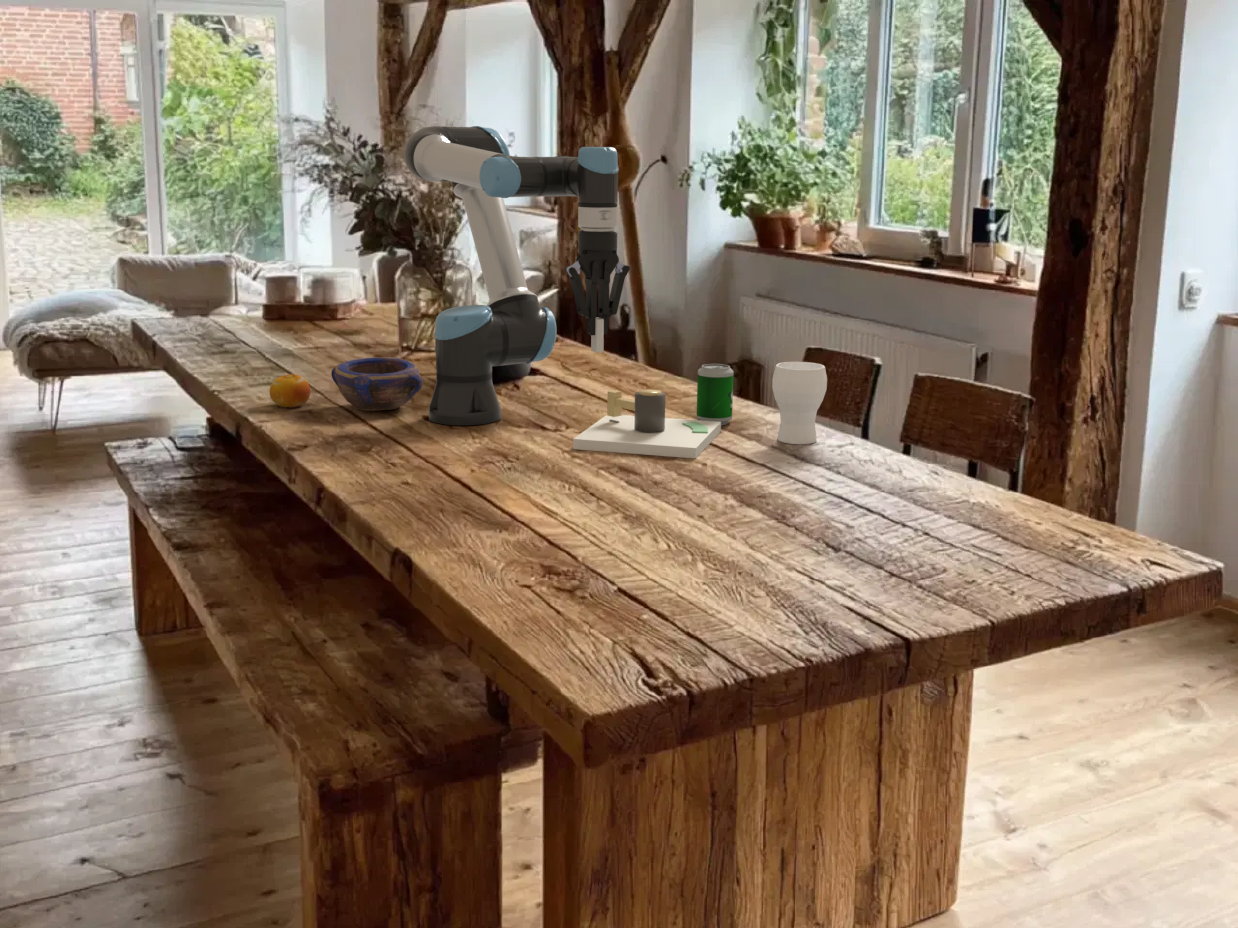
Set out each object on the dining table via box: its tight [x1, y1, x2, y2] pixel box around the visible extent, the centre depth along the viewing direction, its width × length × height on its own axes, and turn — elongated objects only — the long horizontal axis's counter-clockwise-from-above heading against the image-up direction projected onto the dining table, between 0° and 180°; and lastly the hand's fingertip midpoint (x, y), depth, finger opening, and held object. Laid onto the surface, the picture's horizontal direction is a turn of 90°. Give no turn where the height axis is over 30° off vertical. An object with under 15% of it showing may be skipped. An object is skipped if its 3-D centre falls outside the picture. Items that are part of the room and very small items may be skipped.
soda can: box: [696, 363, 735, 426], centre depth 269 cm, size 8×8×12 cm
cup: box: [771, 361, 828, 445], centre depth 253 cm, size 11×11×15 cm
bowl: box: [330, 356, 424, 412], centre depth 279 cm, size 18×18×10 cm
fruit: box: [269, 374, 311, 408], centre depth 281 cm, size 8×8×8 cm
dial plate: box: [572, 414, 722, 459], centre depth 253 cm, size 24×24×2 cm
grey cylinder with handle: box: [606, 389, 666, 432], centre depth 255 cm, size 14×6×7 cm, turn 45°
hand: (597, 351), depth 251 cm, fingers closed
